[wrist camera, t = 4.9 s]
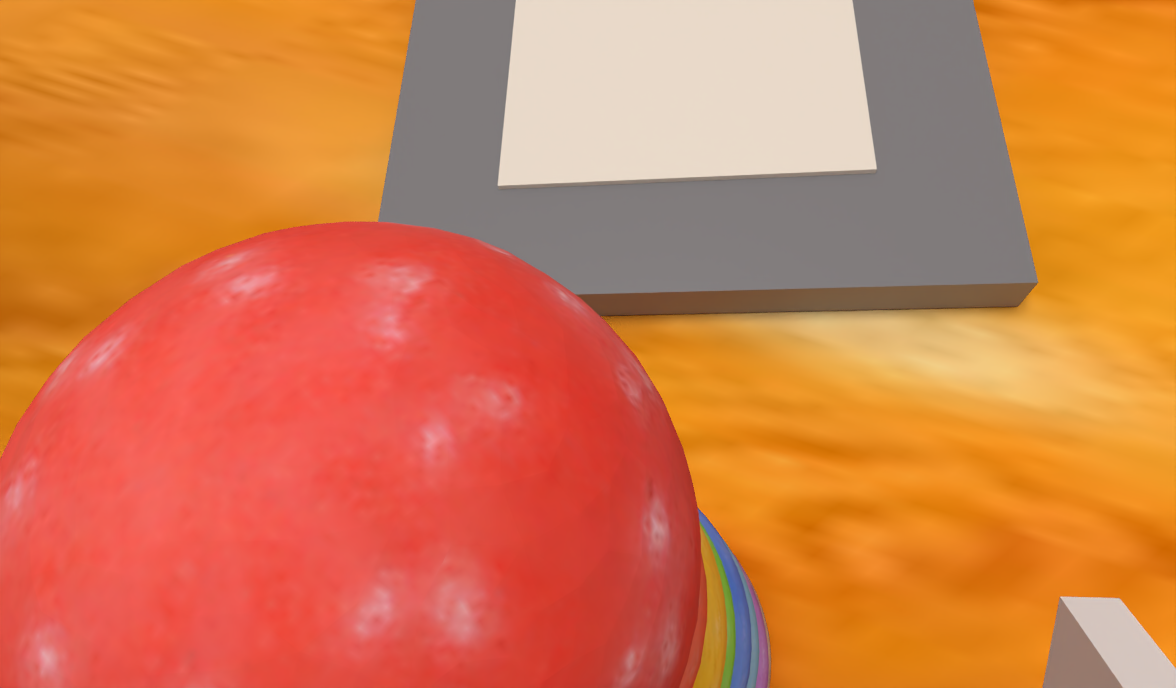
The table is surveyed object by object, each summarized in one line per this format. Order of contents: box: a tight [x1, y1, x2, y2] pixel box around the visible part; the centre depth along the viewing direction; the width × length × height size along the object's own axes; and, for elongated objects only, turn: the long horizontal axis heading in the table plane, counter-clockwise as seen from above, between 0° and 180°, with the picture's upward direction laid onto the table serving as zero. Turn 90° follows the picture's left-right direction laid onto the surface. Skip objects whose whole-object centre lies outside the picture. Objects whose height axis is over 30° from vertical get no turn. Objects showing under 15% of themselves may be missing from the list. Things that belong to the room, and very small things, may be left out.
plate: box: [378, 0, 1038, 316], centre depth 28 cm, size 20×20×2 cm
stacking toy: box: [0, 222, 771, 688], centre depth 12 cm, size 8×8×19 cm
